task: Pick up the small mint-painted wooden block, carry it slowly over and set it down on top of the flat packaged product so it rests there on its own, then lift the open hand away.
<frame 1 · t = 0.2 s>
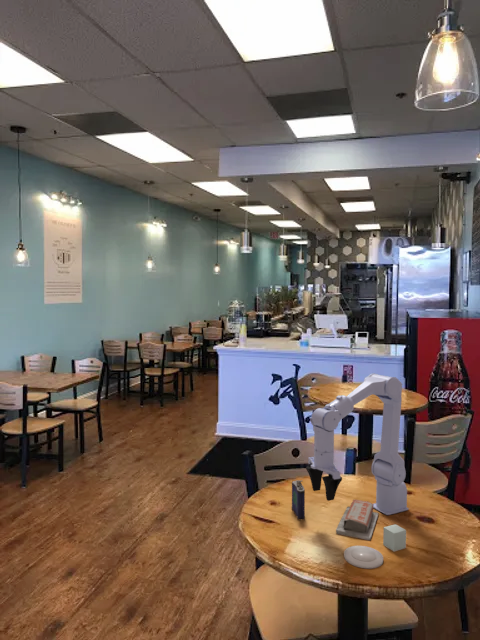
hand: (323, 494, 145), 10 cm above the table, tool pointing down, fingers open, 7 cm apart
saucer: (363, 558, 128), on the table
flask: (298, 514, 155), on the table
packaged product: (357, 526, 148), on the table
mint block: (394, 546, 135), on the table
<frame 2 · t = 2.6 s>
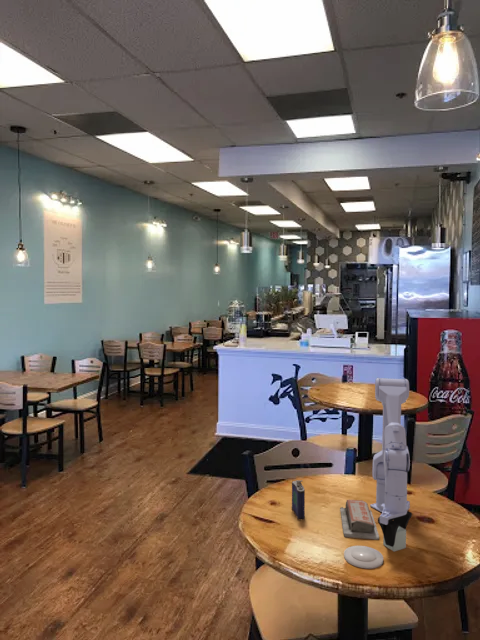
hand: (394, 541, 135), 1 cm above the table, tool pointing down, fingers closed on mint block, 5 cm apart
mint block: (394, 546, 135), on the table, touching gripper
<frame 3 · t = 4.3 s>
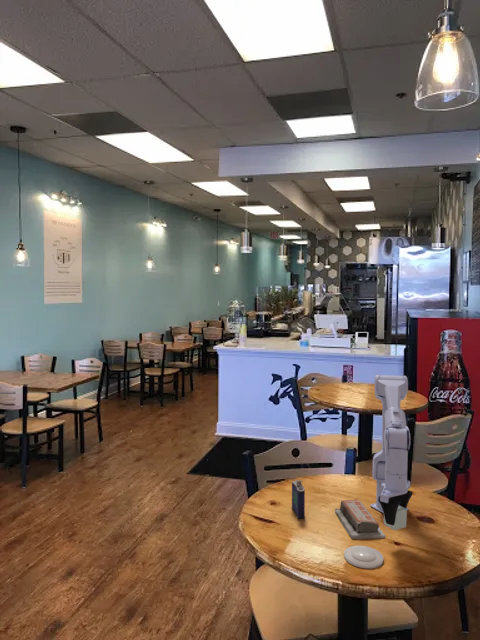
hand: (395, 520, 134), 7 cm above the table, tool pointing down, fingers closed on mint block, 5 cm apart
mint block: (394, 525, 134), point 6 cm above the table, touching gripper
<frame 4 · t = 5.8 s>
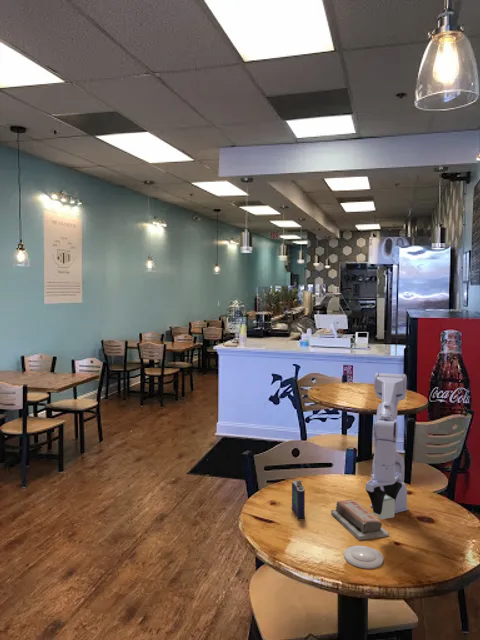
hand: (383, 510, 138), 8 cm above the table, tool pointing down, fingers closed on mint block, 5 cm apart
mint block: (383, 515, 138), point 7 cm above the table, touching gripper
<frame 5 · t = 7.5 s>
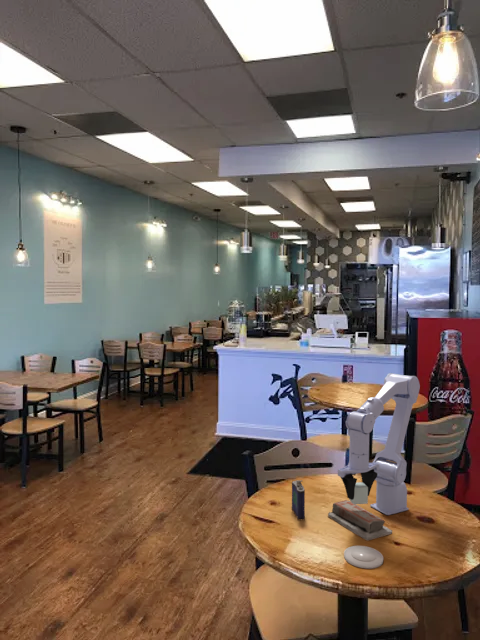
hand: (358, 496, 148), 8 cm above the table, tool pointing down, fingers closed on mint block, 5 cm apart
mint block: (358, 501, 148), point 7 cm above the table, touching gripper
when the fingers open (7 cm above the table, at t = 9.0 s): mint block drops 2 cm, resting on packaged product.
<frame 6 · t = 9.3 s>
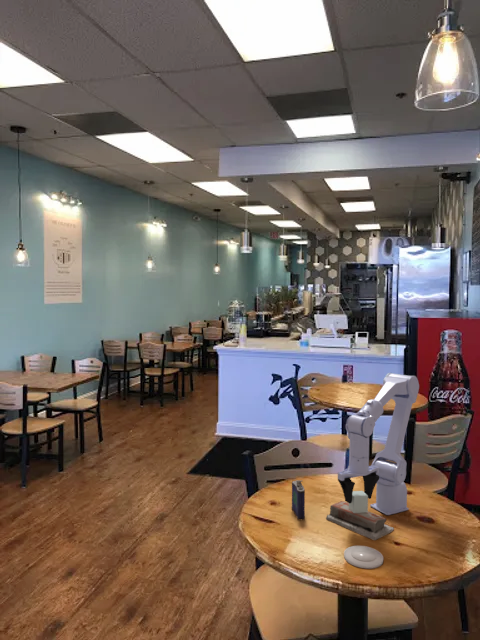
hand: (358, 499, 148), 7 cm above the table, tool pointing down, fingers open, 7 cm apart
packaged product: (358, 526, 148), on the table, touching mint block
mint block: (358, 509, 148), point 4 cm above the table, touching packaged product
everything else where it was.
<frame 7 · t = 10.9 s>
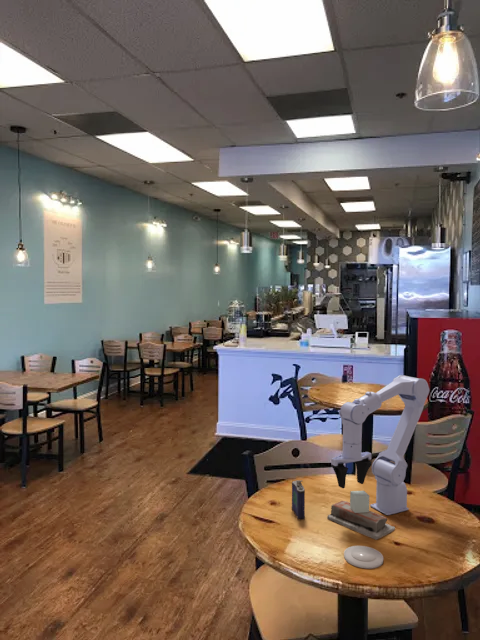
hand: (351, 485, 151), 10 cm above the table, tool pointing down, fingers open, 7 cm apart
nothing on the table moved.
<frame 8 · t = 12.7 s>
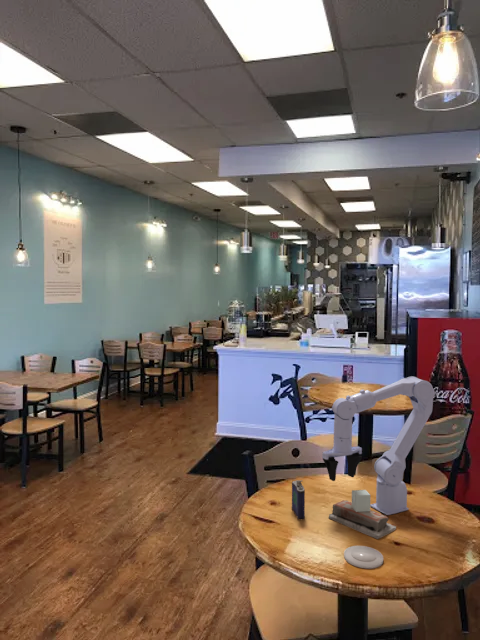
hand: (341, 478, 157), 10 cm above the table, tool pointing down, fingers open, 7 cm apart
at the end: mint block inside the target area on the packaged product (0.4 cm from its centre), point 5.1 cm above the packaged product's base; mint block tilted 1°; the gripper is holding nothing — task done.
